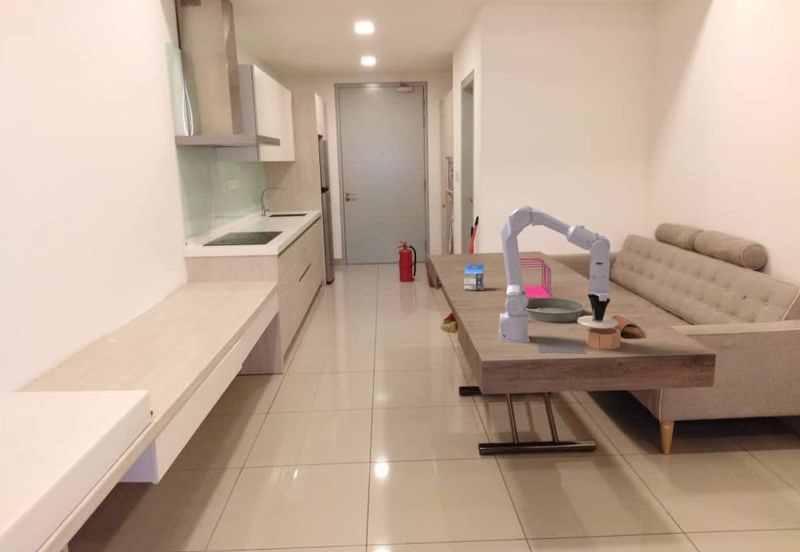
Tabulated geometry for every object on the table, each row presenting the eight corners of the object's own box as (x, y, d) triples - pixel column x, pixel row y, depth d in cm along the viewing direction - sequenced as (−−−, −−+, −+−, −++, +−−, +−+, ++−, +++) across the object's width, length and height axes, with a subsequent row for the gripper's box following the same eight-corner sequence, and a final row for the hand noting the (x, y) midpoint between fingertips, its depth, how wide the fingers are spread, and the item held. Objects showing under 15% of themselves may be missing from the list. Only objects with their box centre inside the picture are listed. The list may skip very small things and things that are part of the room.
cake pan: (521, 323, 206) (521, 312, 205) (517, 307, 230) (517, 297, 229) (590, 324, 202) (591, 312, 201) (579, 307, 226) (579, 297, 225)
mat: (539, 354, 171) (539, 352, 170) (535, 340, 184) (535, 339, 184) (586, 355, 168) (586, 353, 168) (579, 341, 182) (579, 339, 182)
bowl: (589, 350, 173) (590, 334, 172) (584, 341, 182) (584, 326, 181) (622, 351, 171) (622, 335, 170) (615, 341, 180) (615, 326, 180)
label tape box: (464, 290, 264) (463, 265, 262) (465, 289, 268) (465, 263, 265) (482, 291, 261) (482, 265, 259) (484, 289, 265) (483, 264, 262)
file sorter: (511, 301, 240) (511, 265, 237) (506, 289, 264) (506, 256, 261) (552, 301, 238) (553, 265, 235) (543, 289, 262) (544, 256, 259)
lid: (580, 327, 170) (581, 313, 169) (574, 317, 182) (575, 304, 181) (621, 328, 168) (622, 314, 168) (612, 318, 180) (613, 305, 179)
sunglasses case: (647, 338, 182) (637, 321, 182) (627, 348, 184) (617, 331, 183) (635, 324, 199) (625, 308, 199) (617, 333, 201) (607, 317, 201)
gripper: (618, 280, 165) (616, 324, 167) (607, 271, 179) (606, 312, 181) (593, 280, 166) (591, 324, 168) (585, 271, 180) (584, 312, 182)
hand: (598, 318), depth 175 cm, fingers closed on lid, 3 cm apart
